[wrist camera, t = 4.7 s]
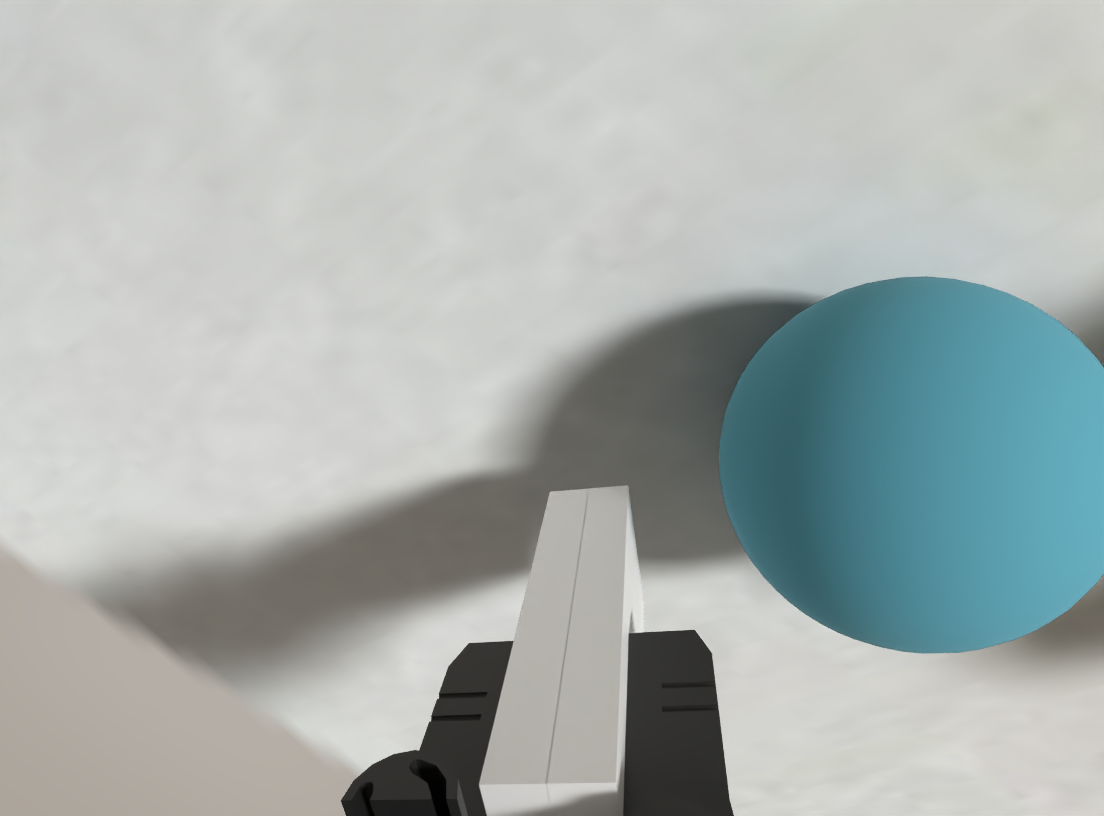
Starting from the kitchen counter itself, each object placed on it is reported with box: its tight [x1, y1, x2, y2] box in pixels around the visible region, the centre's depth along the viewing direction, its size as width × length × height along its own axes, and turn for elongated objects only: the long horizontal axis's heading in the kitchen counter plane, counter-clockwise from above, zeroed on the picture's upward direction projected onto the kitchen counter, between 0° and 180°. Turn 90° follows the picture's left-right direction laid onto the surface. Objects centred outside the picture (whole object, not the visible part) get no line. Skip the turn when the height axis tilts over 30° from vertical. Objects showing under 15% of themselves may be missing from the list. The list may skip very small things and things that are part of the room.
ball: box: [719, 277, 1104, 653], centre depth 12 cm, size 6×6×6 cm
